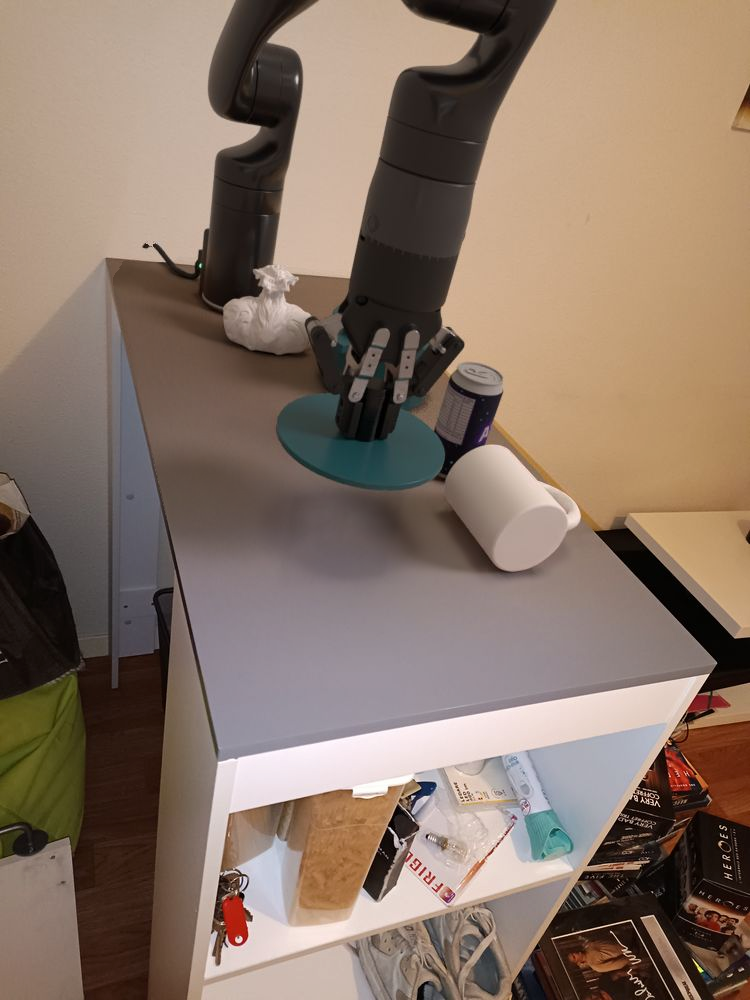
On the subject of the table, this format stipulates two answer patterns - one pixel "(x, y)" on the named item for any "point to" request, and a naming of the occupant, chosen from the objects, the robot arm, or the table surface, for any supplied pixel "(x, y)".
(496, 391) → the beverage can
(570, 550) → the table surface
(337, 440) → the lid
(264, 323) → the white tied bag
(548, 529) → the mug
